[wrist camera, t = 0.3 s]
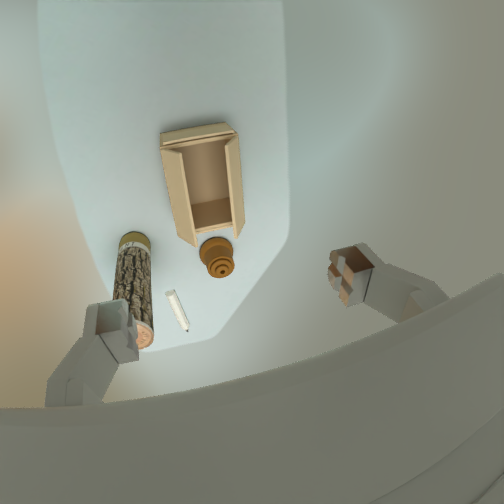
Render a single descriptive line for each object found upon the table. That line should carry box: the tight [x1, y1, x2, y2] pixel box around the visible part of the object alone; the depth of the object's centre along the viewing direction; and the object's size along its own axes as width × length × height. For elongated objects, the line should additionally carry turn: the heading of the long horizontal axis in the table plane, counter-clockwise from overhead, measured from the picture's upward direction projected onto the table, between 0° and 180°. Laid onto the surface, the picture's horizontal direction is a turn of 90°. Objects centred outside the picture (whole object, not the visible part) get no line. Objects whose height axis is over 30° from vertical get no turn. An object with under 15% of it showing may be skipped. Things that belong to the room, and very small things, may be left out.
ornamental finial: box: [200, 238, 234, 278], centre depth 64 cm, size 8×8×8 cm
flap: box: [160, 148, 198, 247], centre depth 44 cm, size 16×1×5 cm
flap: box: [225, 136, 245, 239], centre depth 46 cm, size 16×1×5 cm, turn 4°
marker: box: [165, 290, 189, 332], centre depth 74 cm, size 3×2×16 cm
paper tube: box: [113, 232, 154, 350], centre depth 50 cm, size 7×7×25 cm
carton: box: [160, 122, 238, 234], centre depth 51 cm, size 17×12×10 cm
